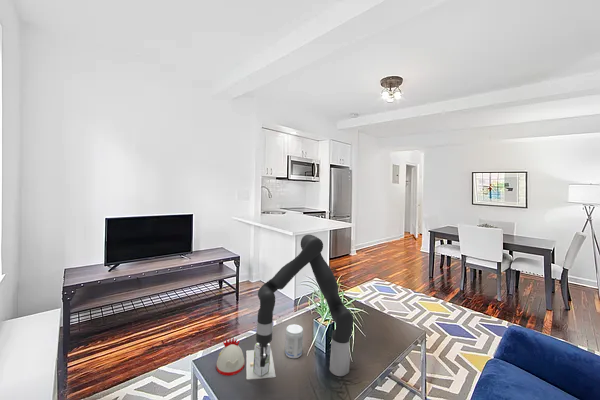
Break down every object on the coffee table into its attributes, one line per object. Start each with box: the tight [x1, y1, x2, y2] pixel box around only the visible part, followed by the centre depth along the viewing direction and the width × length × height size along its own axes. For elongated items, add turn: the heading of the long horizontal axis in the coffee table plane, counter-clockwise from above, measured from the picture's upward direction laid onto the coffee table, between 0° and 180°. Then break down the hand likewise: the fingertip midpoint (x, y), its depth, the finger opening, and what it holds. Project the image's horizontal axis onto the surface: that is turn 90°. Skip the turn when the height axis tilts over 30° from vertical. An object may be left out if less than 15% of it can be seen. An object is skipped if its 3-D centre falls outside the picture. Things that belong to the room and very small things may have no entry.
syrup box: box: [253, 342, 271, 377], centre depth 134 cm, size 6×6×14 cm
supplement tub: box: [284, 323, 304, 359], centre depth 151 cm, size 10×10×15 cm
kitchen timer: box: [216, 337, 245, 377], centre depth 138 cm, size 14×14×15 cm
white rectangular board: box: [245, 348, 277, 381], centre depth 141 cm, size 14×22×1 cm, turn 12°
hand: (262, 365), depth 126 cm, fingers closed
